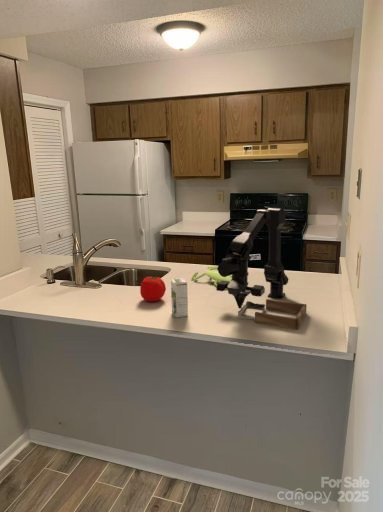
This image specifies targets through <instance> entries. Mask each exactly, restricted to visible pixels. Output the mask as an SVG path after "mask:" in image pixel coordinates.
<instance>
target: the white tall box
mask: <svg viewBox="0 0 383 512" xmlns="http://www.w3.org/2000/svg"><path fill="white" fill-rule="evenodd" d="M170 284H171V285H170V287H171V288H170V291H171V292H170V293H171V295H170V296H171V314H172V315H173V318H183V317H188V316H189V309H188V308H189V307H188V306H189V304H188V303H189V301H188V281H187V280H186V278H182V277H180V278H178V277H177V278H176V277H175V278H172V279H170Z"/></svg>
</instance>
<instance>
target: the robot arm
mask: <svg viewBox="0 0 383 512" xmlns="http://www.w3.org/2000/svg"><path fill="white" fill-rule="evenodd" d="M286 217H287V213H286V210H285V208H282V207H281V208H279V207H268V208H267V209H263V208H261V209H257V210H256V213H255V216H253V218H252V219H251V221H250V223H249V224H248V225H247V227H246V228H245V230H244V231H243V232H242V233H241V234H239V235H236V237H235V238H234V239H232V241H231V242H230V245H229V247H228V250H227V251H226V254H225V258H222V259H221V262H219V264H218V270H217V272H219V274H220V275H221V276H222V277H227V276H232V279H231V281H221V282H219V281H218V282H217V286H215V289H216V291H217V292H224V291H226V290H225V288H226V289H227V293H228V295H232V296H233V297H234V300H235V302H236V305H237V308H238V310H239V309H240V310H241V308H242V307H243V306H244V303H245V300H246V298H247V297H248V296H249V295H252V296H254V297H258V298H259V297H262V296H263V295H264V294H265V293H266V289H265V286H264V285H260V284H259V285H258V284H254V285H253V286H248V285H249V281H248V278H249V277H248V276H249V271H248V267H249V266H248V263H249V260H251V259H252V257H251V256H250V255H249V254H250V253H251V251H252V249H253V248H254V240H255V239H256V237H257V236H258V234H259V233H260V231H261V230H262V229H263V227H264V225H265V224H266V226H267V227H268V232H269V233H268V262H267V263H266V264H265V265H264V266H263V275H264V278H265V279H264V280H265V282H266V283H269V289H270V290H269V294H268V295H267V297H268V298H276V299H283V298H284V297H285V295H286V293H285V292H284V286H286V285H287V284H288V283H289V279H290V278H289V277H288V276H287V274H286V272H285V266H284V265H283V263H282V261H281V253H282V251H281V250H282V248H281V247H282V228H283V226H284V225H285V223H286Z"/></svg>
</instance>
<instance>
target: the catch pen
mask: <svg viewBox="0 0 383 512" xmlns="http://www.w3.org/2000/svg"><path fill="white" fill-rule="evenodd" d="M265 305H266V306H265V310H272V311H278V312H285V313H291V314H297V316H296V317H291V316H285V315H279V314H271V313H267V312H264V313H262V312H259V311H255V312H254V318H255V320H254V323H255V324H261V325H268V326H271V327H278V328H279V327H280V328H283V329H284V328H285V329H290V330H296V331H297V330H299V328H300V327H301V324H302V322H303V320H304V319H305V317H306V315H307V304H306V303H300V302H293V301H284V300H278V299H270V298H266V300H265Z"/></svg>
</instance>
